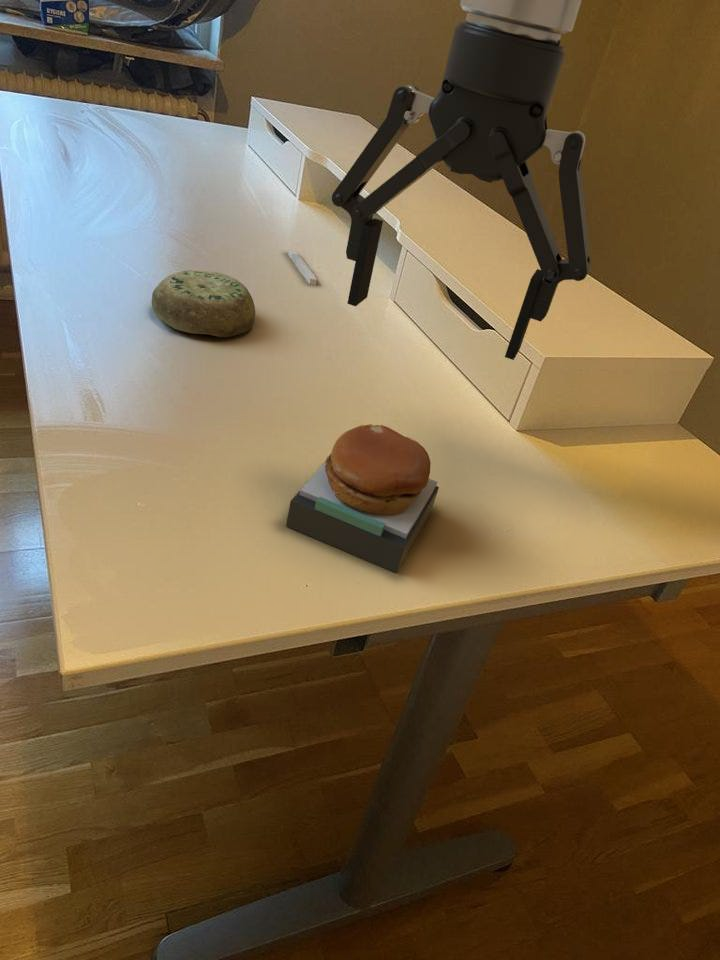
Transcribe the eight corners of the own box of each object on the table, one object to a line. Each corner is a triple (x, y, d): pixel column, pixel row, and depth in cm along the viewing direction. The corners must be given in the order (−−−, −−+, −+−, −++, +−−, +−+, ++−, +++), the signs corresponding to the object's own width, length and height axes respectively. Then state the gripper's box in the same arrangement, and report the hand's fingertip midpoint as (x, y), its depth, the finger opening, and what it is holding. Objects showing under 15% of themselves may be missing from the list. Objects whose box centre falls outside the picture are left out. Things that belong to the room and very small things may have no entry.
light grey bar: (315, 285, 118) (316, 279, 117) (309, 284, 117) (310, 278, 117) (294, 255, 127) (295, 250, 126) (288, 255, 127) (289, 249, 126)
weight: (128, 312, 96) (129, 275, 93) (196, 290, 106) (199, 256, 103) (210, 352, 92) (214, 314, 89) (273, 324, 102) (278, 290, 99)
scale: (431, 510, 74) (442, 478, 72) (396, 573, 65) (407, 539, 63) (332, 470, 76) (339, 438, 74) (285, 526, 67) (292, 491, 65)
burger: (356, 526, 64) (368, 483, 61) (305, 466, 70) (313, 423, 67) (444, 506, 69) (458, 465, 66) (389, 451, 75) (400, 411, 72)
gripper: (702, 73, 49) (586, 359, 61) (360, -11, 54) (314, 269, 66) (704, 78, 43) (575, 394, 55) (318, -18, 48) (276, 292, 60)
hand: (433, 326), depth 61 cm, fingers open, 13 cm apart
